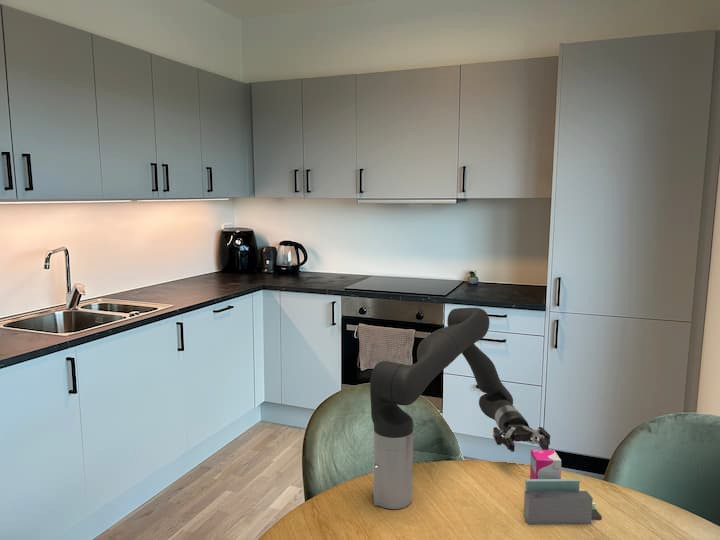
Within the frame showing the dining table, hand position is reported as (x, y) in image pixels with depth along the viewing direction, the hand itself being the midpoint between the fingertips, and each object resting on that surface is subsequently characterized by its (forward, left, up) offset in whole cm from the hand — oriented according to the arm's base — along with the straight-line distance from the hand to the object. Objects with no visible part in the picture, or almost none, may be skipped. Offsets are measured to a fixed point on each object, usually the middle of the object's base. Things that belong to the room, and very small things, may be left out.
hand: (529, 448), depth 136 cm
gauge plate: (+2, -16, -7) cm, 17 cm away
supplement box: (0, -11, -8) cm, 14 cm away
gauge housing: (+1, -16, -8) cm, 17 cm away
